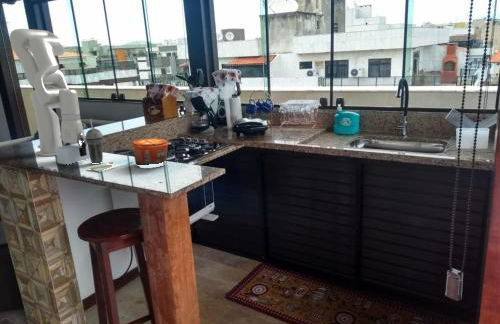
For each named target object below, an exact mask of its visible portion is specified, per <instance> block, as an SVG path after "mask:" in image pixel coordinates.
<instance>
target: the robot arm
mask: <svg viewBox="0 0 500 324" xmlns="http://www.w3.org/2000/svg"><path fill="white" fill-rule="evenodd" d="M9 41H10V45H11V48H12V50H13V52H14V53H15V56H16V57H17V58H18V60H19V62H20V63H21V66H22V69H23V71H24V75H25V77H26V79H27V82H28V84H29V85H30V86H31V87H32V88H34V90H33V91H32V92H31V94H30V98H31V103H32V106H33V109H34V112H35V120H36V125H37V131H38V138H39V145H37V148H38V149H39V151H38V152H37V155H38V156H41V157H53V156H57V155H56V148H57V147H62V146H66V145H71V144H76V143H77V144H78V145H79V147H80V148H79V153H80V156H81V157H82V156H86V155H87V153H86V147H87V142H86V139H85V138H86V134H85V131H84V126H83V123H82V120H81V113H80V104H79V98H78V97H79V96H78V92H77V90H76V89H70V88H69V86H68V83H67V80H66V78H65V75H64V73H63V71H62V70H61V69H60V65H59V63H58V61H57V60H58V59H57V58H56V56H57V57H59V56H63V55H64V54H65V50H66V48H65V44H64V42H63V40H62V39H61V38H60V37H59V36H57V35H56V34H55V33H52V32H51V31H49V30H44V29H42V30H41V29H33V28H32V29H30V28H17V29H12V31H11V32H10V34H9ZM53 109H60V113H61V114H60V116H61V123H60V118H59V116H58V114H57V112H55V111H54V110H53ZM81 143H82V144H81Z"/></svg>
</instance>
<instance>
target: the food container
mask: <svg viewBox="0 0 500 324" xmlns="http://www.w3.org/2000/svg"><path fill="white" fill-rule="evenodd" d="M169 145H170V142H169V141H168V140H167V139H164V138H156V137H155V138H154V137H152V138H140V139H136V140H133V141H132V142H131V144H130V146H131V148H132V152H133V157H134V162H135V165H136V164H137V165H149V164H159V163H162V162H164V161H166V162H167V159H168V158H167V156H168V146H169Z"/></svg>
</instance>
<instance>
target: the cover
mask: <svg viewBox="0 0 500 324" xmlns="http://www.w3.org/2000/svg"><path fill="white" fill-rule="evenodd" d="M81 144H82V143H81ZM79 148H80V147H79V145H78V144H77V143H76V144H70V145H66V146H63V145H62V147H57V148H56V155H55V156H56V162H57V164H61V165H66V164H67V165H66V166H70V165H73V164H72V163H74V164H76V163H75V162H77V163H79V162H78V161H81V160H85V161H87V160H86V159H89V158H90V154H89V149H88V144H87V147H86V153H87V155H86V156H82V157H81V156H80V153H79ZM89 160H90V159H89ZM81 162H82V161H81ZM69 164H70V165H69Z"/></svg>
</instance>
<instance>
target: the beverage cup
mask: <svg viewBox="0 0 500 324" xmlns="http://www.w3.org/2000/svg"><path fill="white" fill-rule="evenodd" d="M89 123H90V126H91V127H90V129H89V130H87V132H86V134H85V136H86V138H85V139H86V142H87V144H88V149H89V154H90V159H89V160H90V162H92V163H100V162H102V163H103V155H104V154H103V151H104V150H103V143H104V135H103V133H102V132H101V131H100V130H99V129H97V128H94V126H93V121H92V118H90V119H89ZM92 163H91V164H92Z"/></svg>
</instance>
